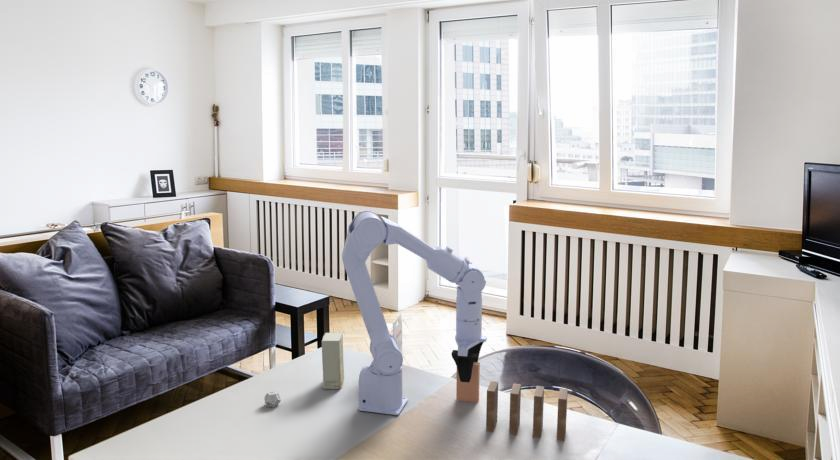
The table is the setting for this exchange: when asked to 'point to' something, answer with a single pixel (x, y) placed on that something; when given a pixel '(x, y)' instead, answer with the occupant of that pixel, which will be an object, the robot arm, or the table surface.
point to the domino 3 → (538, 411)
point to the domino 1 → (492, 406)
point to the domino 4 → (562, 414)
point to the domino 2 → (515, 409)
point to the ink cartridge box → (396, 331)
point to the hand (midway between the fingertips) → (468, 374)
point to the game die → (272, 398)
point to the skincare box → (332, 360)
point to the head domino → (469, 386)
